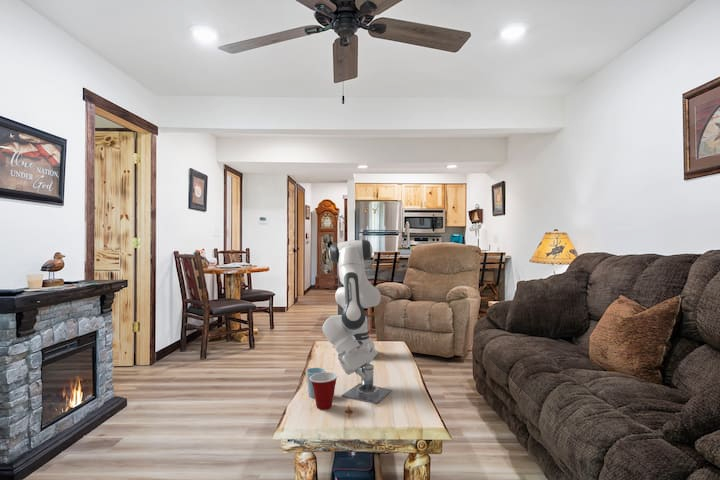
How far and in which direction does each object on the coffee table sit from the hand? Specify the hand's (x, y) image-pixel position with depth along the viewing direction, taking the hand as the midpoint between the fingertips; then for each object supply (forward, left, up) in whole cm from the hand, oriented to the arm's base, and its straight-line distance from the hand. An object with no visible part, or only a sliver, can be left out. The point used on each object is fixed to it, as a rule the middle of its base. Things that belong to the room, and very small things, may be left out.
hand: (368, 375), depth 168 cm
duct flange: (0, -1, -8) cm, 8 cm away
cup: (+12, -19, -8) cm, 23 cm away
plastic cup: (+20, -10, -8) cm, 23 cm away
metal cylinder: (0, -1, -5) cm, 5 cm away
